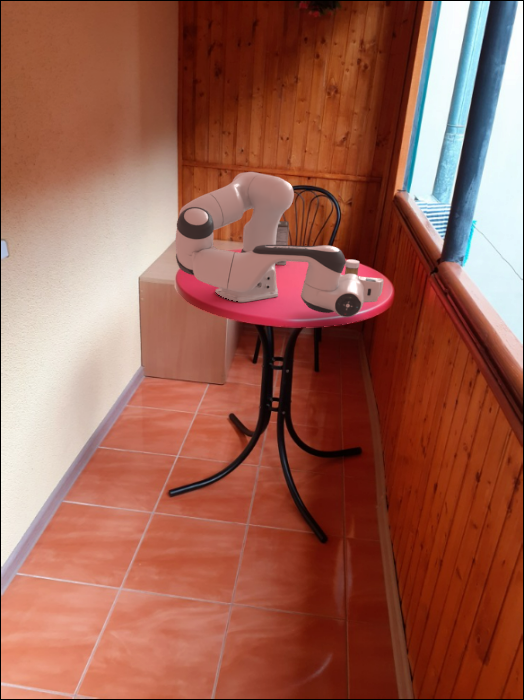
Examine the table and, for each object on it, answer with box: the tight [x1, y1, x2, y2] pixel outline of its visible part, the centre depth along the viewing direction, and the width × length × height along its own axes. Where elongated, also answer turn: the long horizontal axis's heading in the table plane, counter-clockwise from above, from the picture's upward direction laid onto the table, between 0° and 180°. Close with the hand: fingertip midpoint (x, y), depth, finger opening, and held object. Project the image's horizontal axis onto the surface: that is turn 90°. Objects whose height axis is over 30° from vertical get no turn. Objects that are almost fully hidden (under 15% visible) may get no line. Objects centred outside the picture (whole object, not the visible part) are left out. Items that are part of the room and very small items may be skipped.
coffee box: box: [275, 220, 290, 266], centre depth 231 cm, size 9×6×16 cm
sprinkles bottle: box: [344, 259, 360, 276], centre depth 191 cm, size 5×5×14 cm
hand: (351, 276), depth 183 cm, fingers closed
